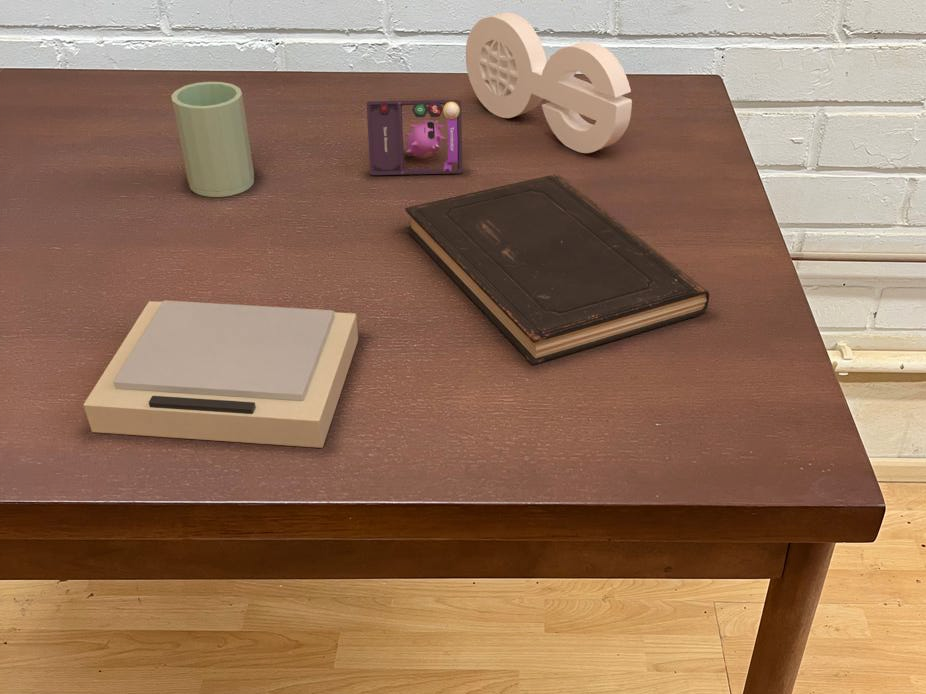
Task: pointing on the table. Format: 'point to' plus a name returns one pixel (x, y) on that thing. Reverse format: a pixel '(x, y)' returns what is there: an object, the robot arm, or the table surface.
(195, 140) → the cup
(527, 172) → the table surface
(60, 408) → the table surface
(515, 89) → the beige logo cutout
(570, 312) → the hardcover book
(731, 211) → the table surface
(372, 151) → the game card
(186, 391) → the scale
